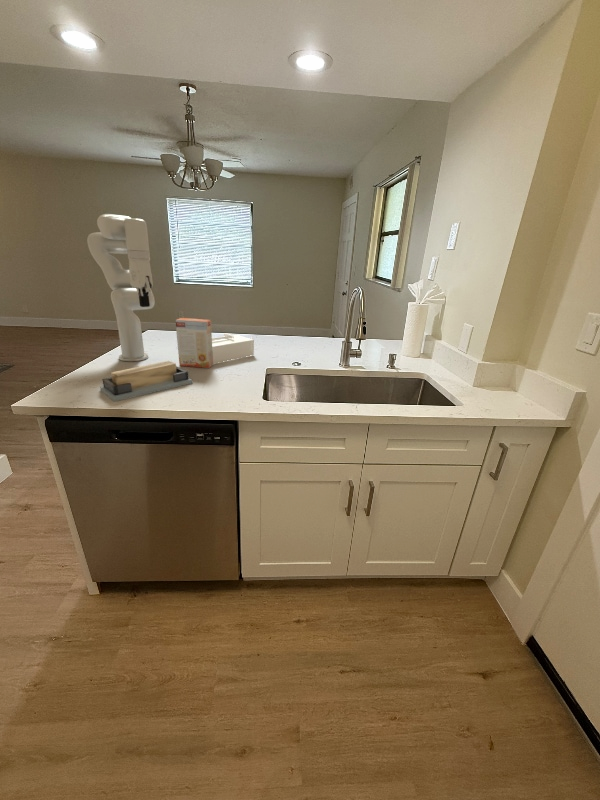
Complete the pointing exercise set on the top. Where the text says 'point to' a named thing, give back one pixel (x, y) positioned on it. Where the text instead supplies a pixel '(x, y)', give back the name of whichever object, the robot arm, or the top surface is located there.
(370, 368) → the top surface
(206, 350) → the cracker box
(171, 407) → the top surface
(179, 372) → the rail base
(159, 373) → the slat
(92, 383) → the top surface
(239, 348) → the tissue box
